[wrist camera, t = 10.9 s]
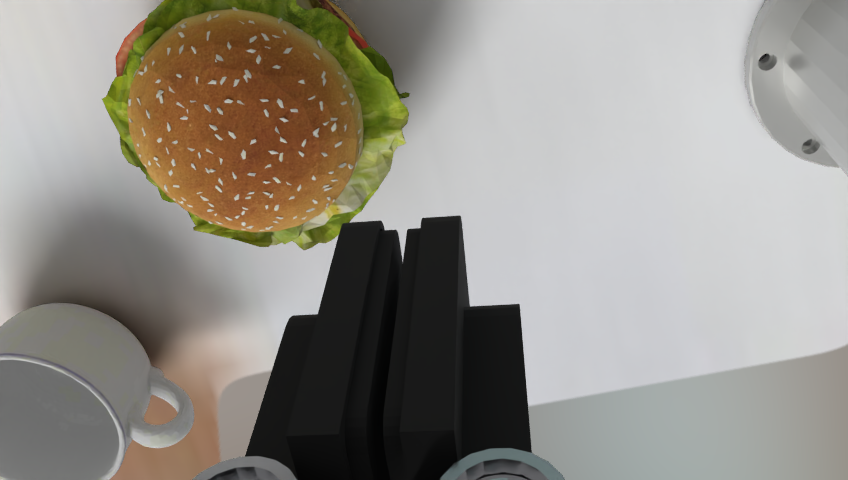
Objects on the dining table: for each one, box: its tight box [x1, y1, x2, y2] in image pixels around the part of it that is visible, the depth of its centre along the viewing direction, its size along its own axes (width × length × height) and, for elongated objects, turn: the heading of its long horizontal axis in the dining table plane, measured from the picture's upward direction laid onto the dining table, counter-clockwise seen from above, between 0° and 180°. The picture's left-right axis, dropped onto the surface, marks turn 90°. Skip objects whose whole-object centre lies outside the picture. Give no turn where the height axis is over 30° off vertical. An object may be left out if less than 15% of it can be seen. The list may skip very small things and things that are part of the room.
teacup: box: [0, 303, 194, 480], centre depth 48 cm, size 14×11×8 cm
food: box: [102, 0, 410, 250], centre depth 38 cm, size 14×14×8 cm
